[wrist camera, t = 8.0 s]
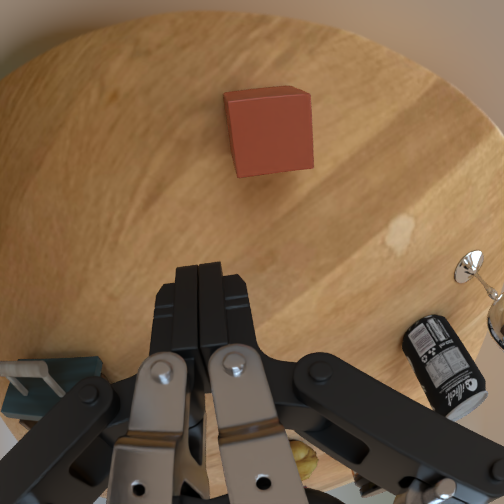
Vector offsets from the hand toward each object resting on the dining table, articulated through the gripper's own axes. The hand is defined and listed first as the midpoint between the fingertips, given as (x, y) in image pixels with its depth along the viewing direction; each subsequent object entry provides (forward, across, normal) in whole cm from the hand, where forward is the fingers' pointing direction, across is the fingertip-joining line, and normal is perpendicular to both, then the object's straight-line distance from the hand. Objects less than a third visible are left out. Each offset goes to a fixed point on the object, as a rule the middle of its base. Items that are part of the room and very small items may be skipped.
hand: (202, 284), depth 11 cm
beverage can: (+12, -22, +22) cm, 34 cm away
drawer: (+11, +19, +21) cm, 30 cm away
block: (+12, -4, -3) cm, 13 cm away
